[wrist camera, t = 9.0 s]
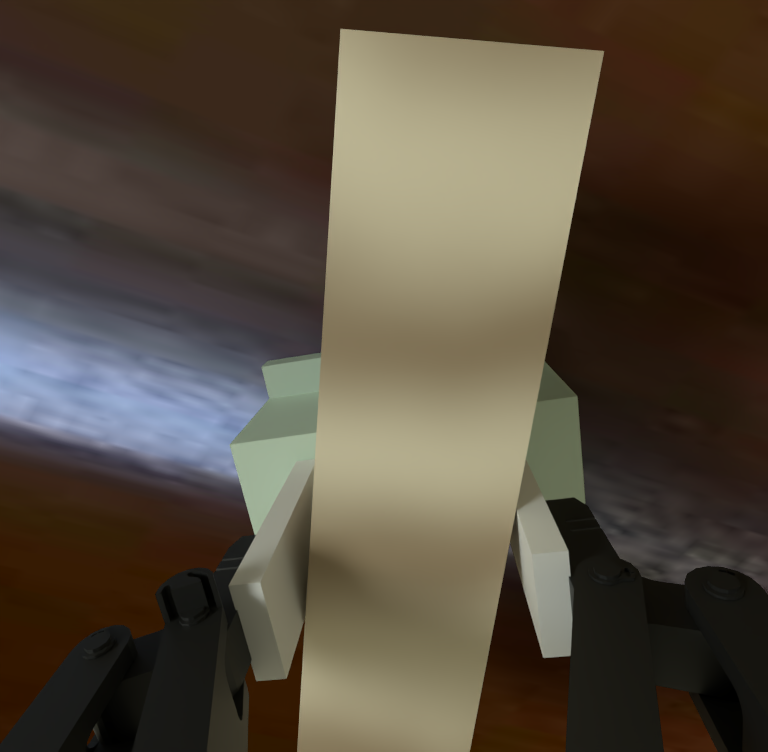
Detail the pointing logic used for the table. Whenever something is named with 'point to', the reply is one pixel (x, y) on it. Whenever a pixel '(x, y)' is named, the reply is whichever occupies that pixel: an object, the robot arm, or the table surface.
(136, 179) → the table surface
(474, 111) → the beam
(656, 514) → the table surface
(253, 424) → the stepped block
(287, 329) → the table surface
